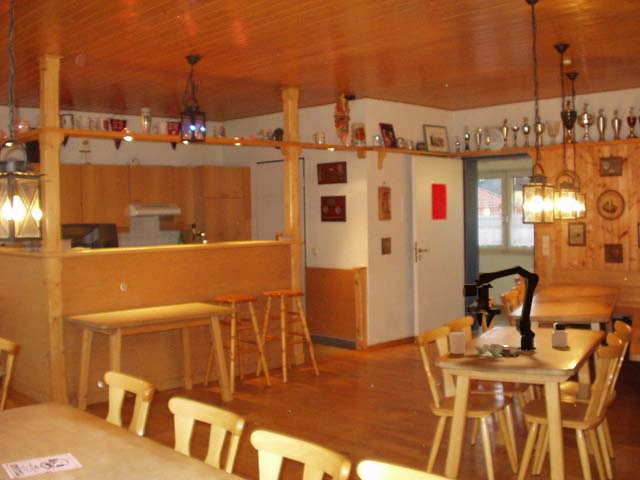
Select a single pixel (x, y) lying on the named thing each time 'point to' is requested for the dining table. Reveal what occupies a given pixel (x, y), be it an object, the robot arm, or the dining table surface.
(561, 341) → the medicine bottle
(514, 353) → the brown rounded bar
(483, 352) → the cradle
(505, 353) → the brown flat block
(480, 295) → the robot arm
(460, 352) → the white cup
